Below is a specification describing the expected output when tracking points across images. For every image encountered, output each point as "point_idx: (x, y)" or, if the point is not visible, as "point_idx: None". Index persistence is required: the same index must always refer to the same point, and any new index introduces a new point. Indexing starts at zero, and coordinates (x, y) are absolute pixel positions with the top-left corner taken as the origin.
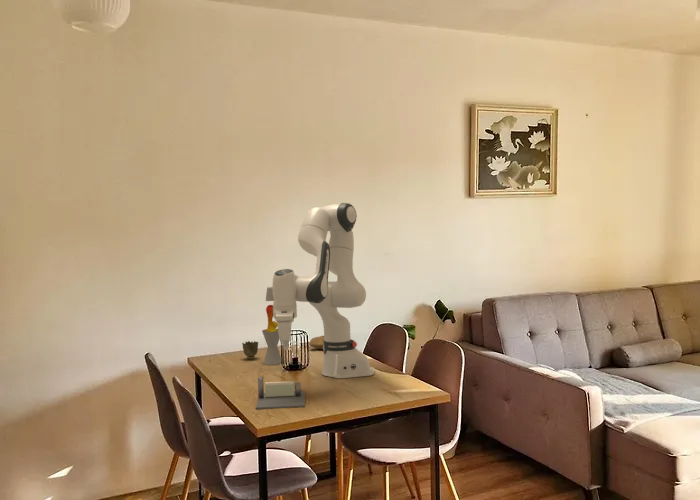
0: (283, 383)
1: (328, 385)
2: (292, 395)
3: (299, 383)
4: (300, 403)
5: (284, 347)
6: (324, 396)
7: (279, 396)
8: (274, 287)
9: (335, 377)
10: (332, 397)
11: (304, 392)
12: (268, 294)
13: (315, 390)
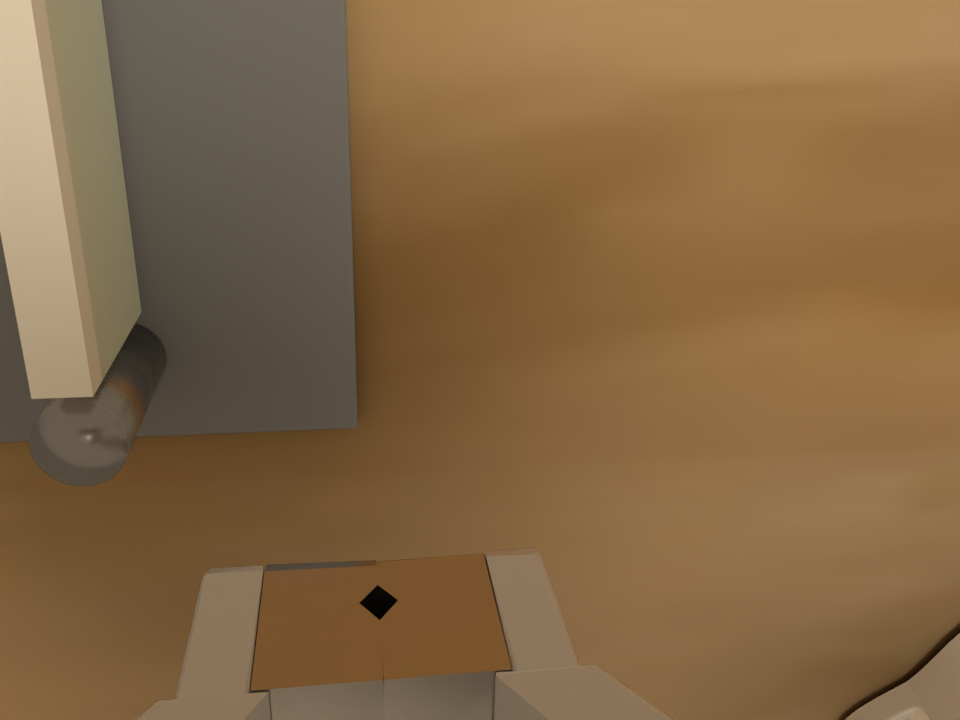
0: (2, 208)
1: (616, 645)
2: (150, 278)
3: (45, 470)
4: None
5: (198, 655)
6: (164, 631)
7: None
8: None
9: (876, 702)
10: (117, 707)
11: (287, 426)
12: None
13: (436, 529)
